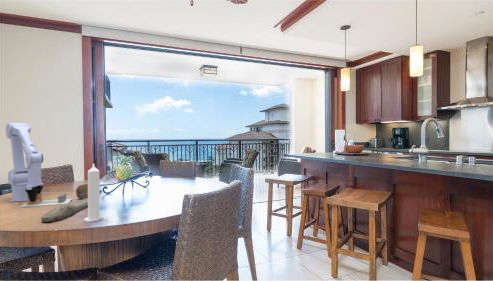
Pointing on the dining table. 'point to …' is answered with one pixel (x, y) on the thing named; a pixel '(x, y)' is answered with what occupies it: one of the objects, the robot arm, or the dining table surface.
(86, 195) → the tin
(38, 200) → the block
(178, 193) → the dining table surface
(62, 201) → the board
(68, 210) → the long grey stone
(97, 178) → the candle
